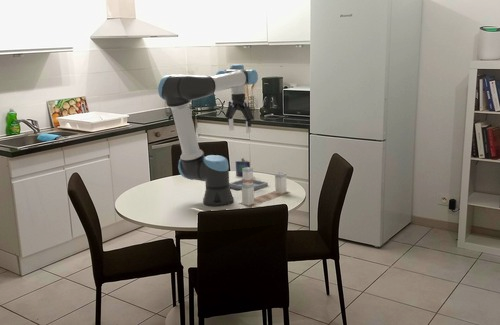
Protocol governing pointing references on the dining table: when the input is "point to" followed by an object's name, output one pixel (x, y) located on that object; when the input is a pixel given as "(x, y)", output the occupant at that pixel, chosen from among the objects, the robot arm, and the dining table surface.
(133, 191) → the dining table surface
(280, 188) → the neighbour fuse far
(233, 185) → the tray
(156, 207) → the dining table surface
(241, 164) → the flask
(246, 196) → the block
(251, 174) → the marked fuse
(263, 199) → the fuse board
